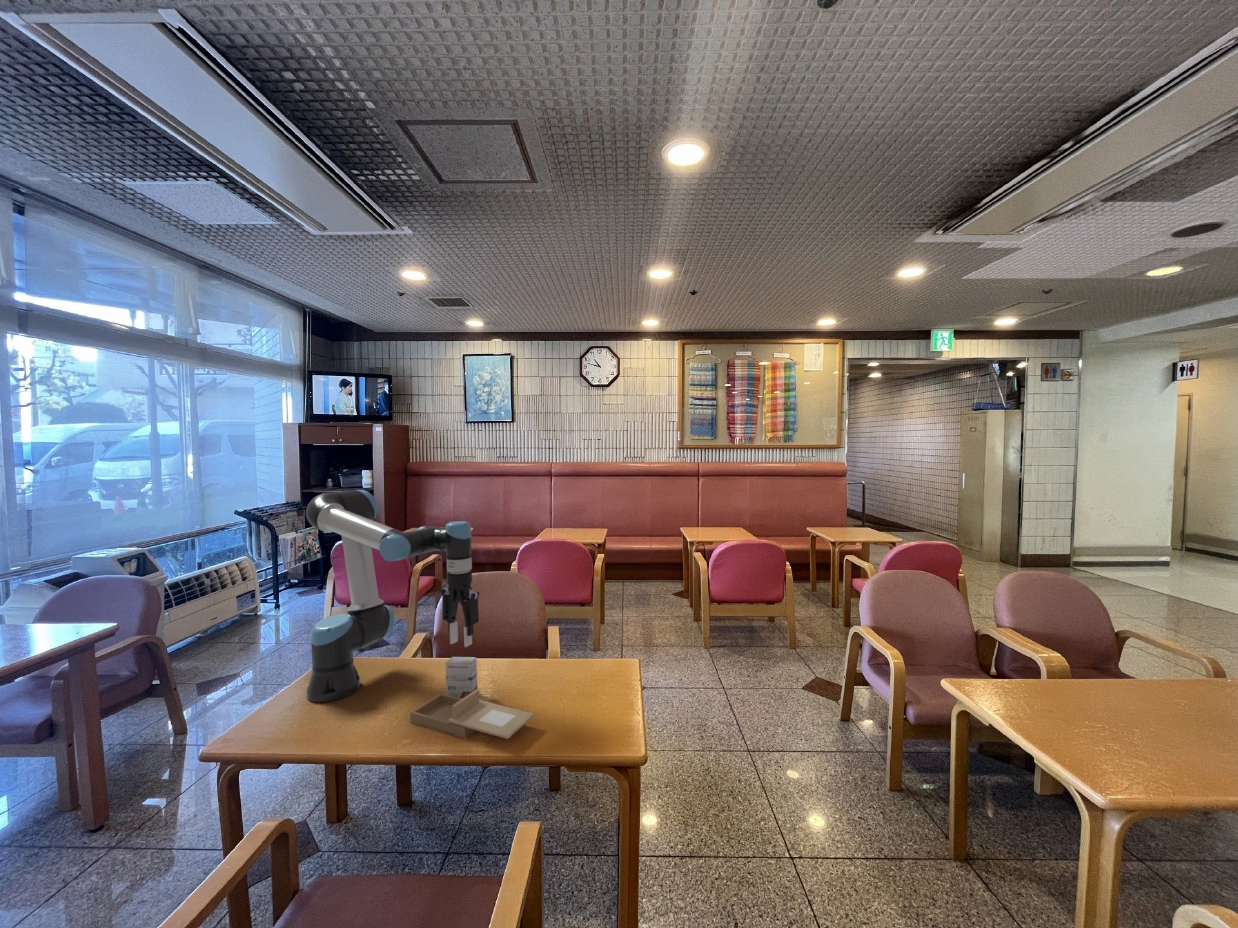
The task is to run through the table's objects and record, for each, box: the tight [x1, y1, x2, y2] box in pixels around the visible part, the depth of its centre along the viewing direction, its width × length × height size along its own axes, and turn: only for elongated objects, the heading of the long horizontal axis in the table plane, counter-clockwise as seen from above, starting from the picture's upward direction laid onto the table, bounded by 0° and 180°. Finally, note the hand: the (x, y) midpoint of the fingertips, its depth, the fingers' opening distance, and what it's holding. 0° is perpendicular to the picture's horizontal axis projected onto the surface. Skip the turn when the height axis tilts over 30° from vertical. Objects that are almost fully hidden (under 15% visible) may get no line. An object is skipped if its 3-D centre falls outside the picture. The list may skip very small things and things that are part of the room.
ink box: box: [445, 656, 478, 699], centre depth 157 cm, size 9×5×12 cm, turn 84°
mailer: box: [409, 693, 477, 740], centre depth 143 cm, size 20×12×3 cm, turn 66°
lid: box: [448, 689, 535, 740], centre depth 137 cm, size 20×12×4 cm, turn 66°
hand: (461, 643), depth 156 cm, fingers open, 5 cm apart
